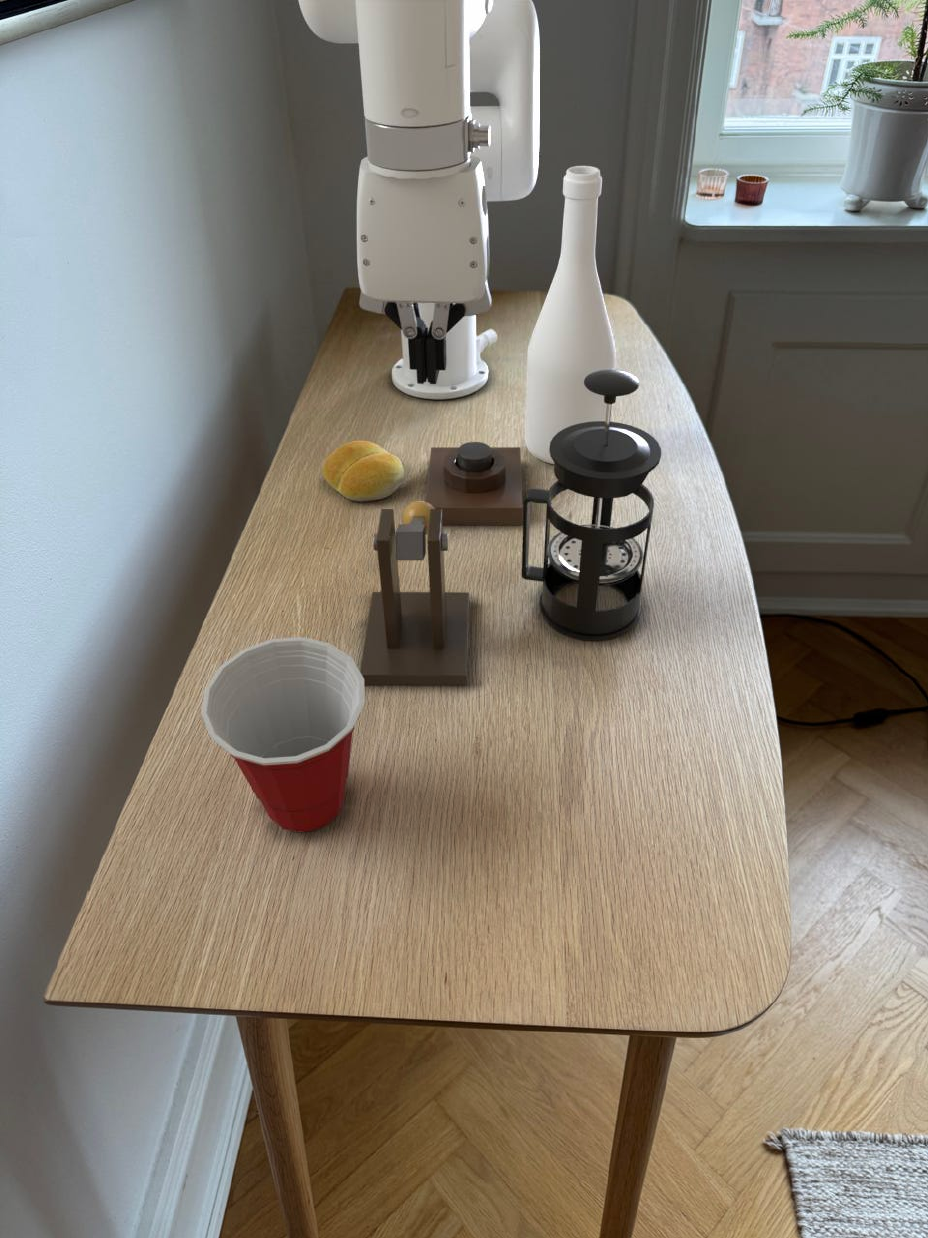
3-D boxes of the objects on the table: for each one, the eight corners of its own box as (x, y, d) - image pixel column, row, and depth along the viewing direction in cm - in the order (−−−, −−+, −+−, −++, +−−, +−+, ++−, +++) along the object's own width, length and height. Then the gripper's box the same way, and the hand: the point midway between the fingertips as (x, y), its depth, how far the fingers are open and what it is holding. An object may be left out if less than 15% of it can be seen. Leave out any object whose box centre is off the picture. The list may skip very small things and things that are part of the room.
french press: (652, 583, 87) (686, 356, 72) (643, 649, 80) (680, 414, 65) (530, 567, 89) (539, 344, 74) (512, 630, 83) (518, 398, 67)
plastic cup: (240, 882, 63) (206, 772, 55) (226, 766, 71) (194, 654, 63) (393, 844, 66) (380, 732, 58) (363, 735, 73) (348, 623, 65)
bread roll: (360, 513, 97) (357, 481, 94) (313, 479, 102) (309, 448, 99) (421, 484, 101) (419, 453, 98) (373, 453, 106) (370, 422, 103)
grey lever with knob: (404, 531, 86) (404, 497, 85) (438, 531, 86) (438, 497, 85) (390, 565, 74) (389, 526, 73) (429, 565, 74) (429, 526, 73)
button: (458, 455, 98) (457, 441, 97) (491, 455, 98) (491, 441, 97) (457, 473, 96) (456, 459, 95) (491, 473, 96) (491, 459, 94)
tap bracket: (373, 601, 86) (361, 486, 77) (469, 602, 86) (467, 486, 77) (360, 685, 78) (345, 566, 69) (466, 685, 77) (464, 566, 69)
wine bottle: (507, 447, 107) (512, 170, 87) (561, 418, 111) (578, 150, 92) (569, 478, 101) (589, 191, 82) (623, 447, 106) (654, 169, 86)
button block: (431, 464, 104) (430, 432, 101) (519, 464, 104) (520, 432, 101) (426, 525, 95) (424, 492, 92) (522, 525, 95) (523, 493, 92)
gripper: (523, 130, 68) (518, 359, 81) (327, 128, 70) (351, 355, 82) (519, 158, 63) (513, 400, 75) (305, 156, 64) (334, 395, 76)
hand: (428, 376), depth 78 cm, fingers closed
